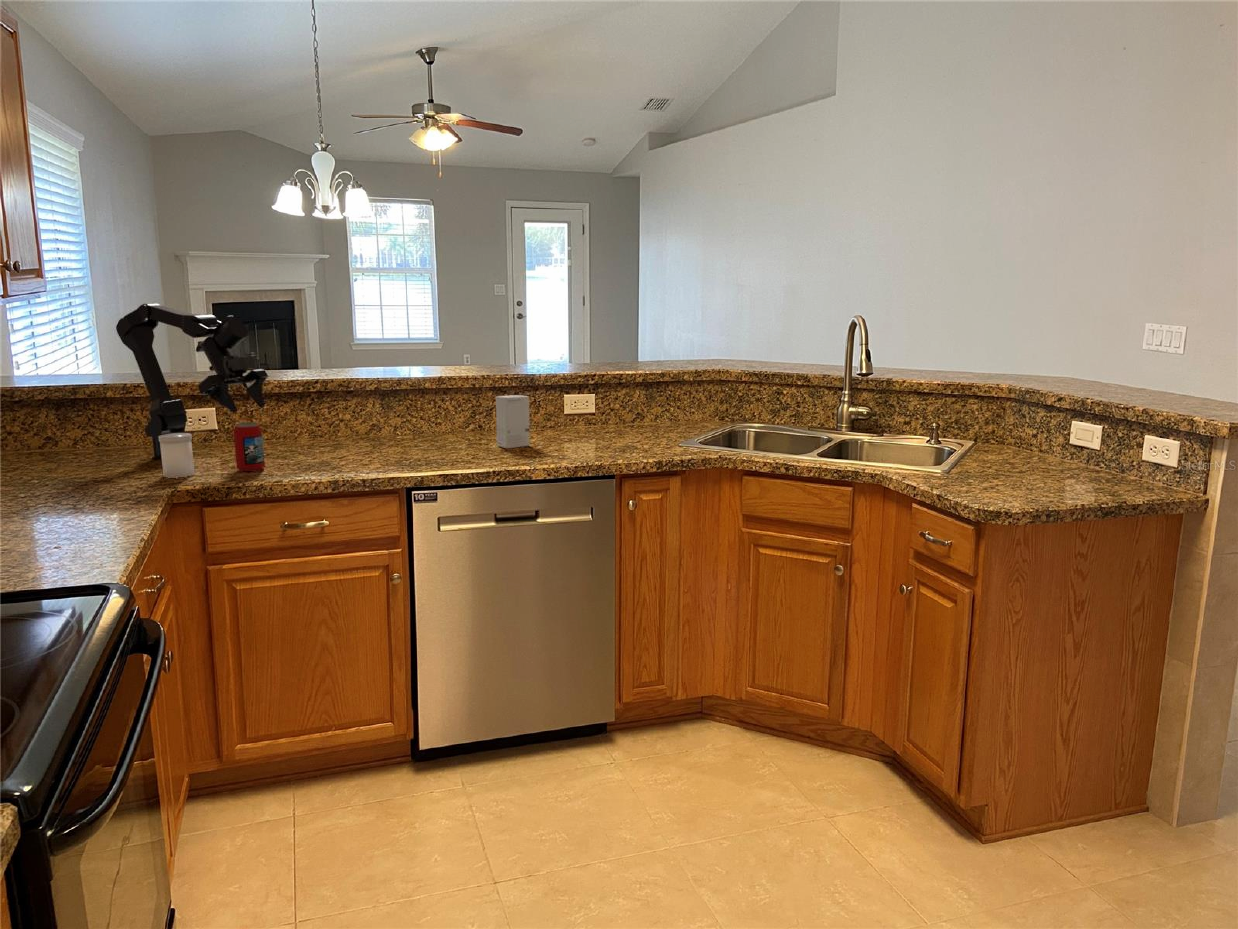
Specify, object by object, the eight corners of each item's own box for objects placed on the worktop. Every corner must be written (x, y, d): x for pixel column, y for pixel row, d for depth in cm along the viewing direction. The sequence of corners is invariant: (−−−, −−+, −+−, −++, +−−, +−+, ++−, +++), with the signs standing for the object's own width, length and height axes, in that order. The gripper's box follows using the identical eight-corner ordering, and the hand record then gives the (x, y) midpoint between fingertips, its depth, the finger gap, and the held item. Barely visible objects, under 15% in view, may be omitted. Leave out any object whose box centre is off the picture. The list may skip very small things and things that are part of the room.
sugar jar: (157, 479, 221) (153, 438, 219) (169, 472, 228) (165, 433, 226) (189, 478, 222) (185, 437, 220) (199, 472, 229) (195, 432, 227)
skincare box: (506, 449, 259) (505, 398, 255) (495, 446, 263) (494, 395, 260) (531, 445, 264) (530, 395, 261) (520, 442, 268) (519, 393, 265)
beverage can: (255, 473, 228) (251, 426, 225) (231, 472, 229) (227, 425, 227) (270, 467, 234) (266, 422, 232) (247, 466, 235) (243, 421, 233)
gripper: (209, 344, 222) (240, 398, 221) (265, 339, 239) (294, 390, 238) (184, 367, 227) (214, 420, 226) (241, 360, 244) (269, 410, 243)
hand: (249, 409), depth 233 cm, fingers open, 9 cm apart
